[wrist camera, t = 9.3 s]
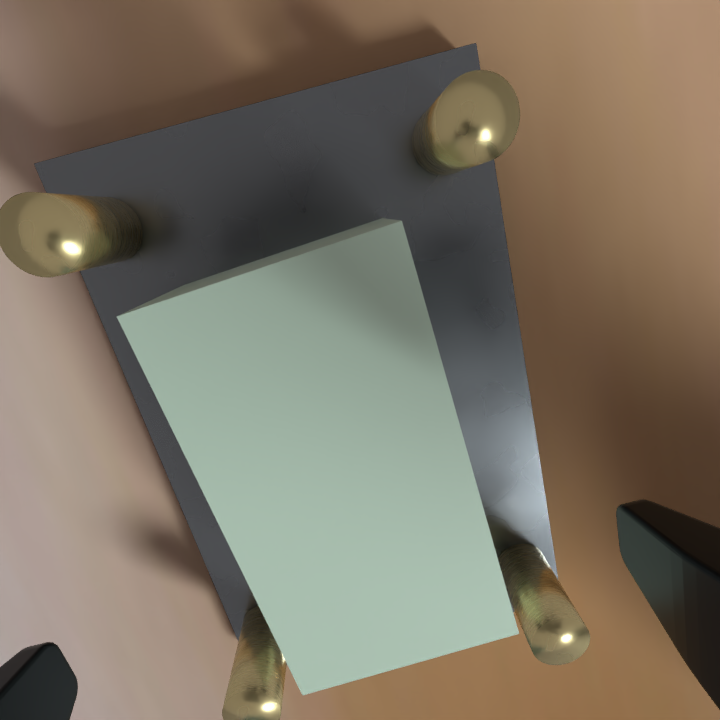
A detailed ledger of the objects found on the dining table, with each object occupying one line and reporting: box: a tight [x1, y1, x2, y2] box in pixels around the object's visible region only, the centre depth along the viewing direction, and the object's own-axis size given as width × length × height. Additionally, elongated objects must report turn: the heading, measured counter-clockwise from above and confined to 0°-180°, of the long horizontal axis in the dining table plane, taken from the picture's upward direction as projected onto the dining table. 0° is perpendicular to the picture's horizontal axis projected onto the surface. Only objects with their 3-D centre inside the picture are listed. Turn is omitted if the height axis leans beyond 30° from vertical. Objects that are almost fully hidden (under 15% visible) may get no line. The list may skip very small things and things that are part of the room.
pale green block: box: [117, 218, 519, 695], centre depth 12 cm, size 6×10×4 cm, turn 18°
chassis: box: [0, 43, 590, 720], centre depth 13 cm, size 11×17×4 cm, turn 14°
